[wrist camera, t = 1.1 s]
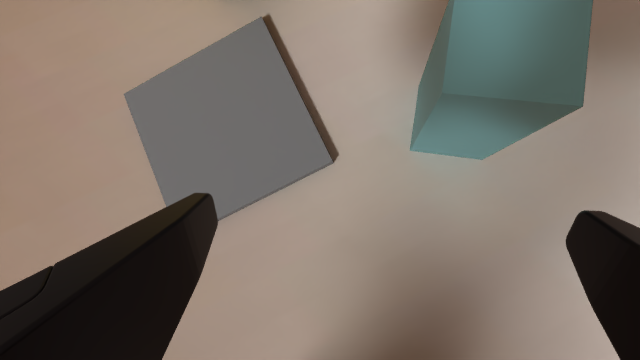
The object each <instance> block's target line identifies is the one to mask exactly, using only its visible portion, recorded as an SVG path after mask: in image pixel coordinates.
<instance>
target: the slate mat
mask: <svg viewBox="0 0 640 360" xmlns="http://www.w3.org/2000/svg"><path fill="white" fill-rule="evenodd" d="M124 96H125V99H126V101H127V104H128V107H129V109H130V112H131V115H132V117H133V120H134V122H135V125H136V128H137V130H138V133H139V136H140V138H141V141H142V144H143V146H144V149H145V151H146V154H147V157H148V159H149V162H150V165H151V167H152V170H153V172H154V175H155V178H156V180H157V183H158V186H159V188H160V191H161V193H162V196H163V199H164V201H165V204H166V207H167V206H169V205H171V204H173V203H175V202H177V201H179V200H181V199H183V198H185V197H187V196H189V195H191V194H193V193H209V194H211V195H212V197H213V200H214V204H215V209H216V213H217V218H218V221H219V220H221V219H223V218H225V217H227V216H229V215H231V214H233V213H235V212H237V211H239V210H241V209H243V208H245V207H247V206H249V205H251V204H253V203H255V202H257V201H259V200H261V199H263V198H265V197H267V196H269V195H271V194H273V193H275V192H277V191H279V190H281V189H283V188H285V187H287V186H289V185H291V184H293V183H295V182H297V181H299V180H301V179H303V178H305V177H307V176H309V175H311V174H313V173H315V172H317V171H319V170H321V169H323V168H325V167H327V166H329V165H331V164H333V161H332V159H331V157H330V154H329V152H328V150H327V148H326V146H325V144H324V142H323V140H322V138H321V136H320V134H319V132H318V130H317V128H316V126H315V124H314V122H313V120H312V118H311V116H310V114H309V112H308V110H307V108H306V106H305V104H304V102H303V100H302V98H301V96H300V94H299V92H298V90H297V87H296V85H295V83H294V81H293V79H292V77H291V75H290V73H289V71H288V69H287V67H286V65H285V63H284V61H283V59H282V57H281V55H280V53H279V51H278V49H277V47H276V45H275V43H274V41H273V39H272V37H271V35H270V33H269V31H268V29H267V27H266V25H265V22H264V21H263V19H262V17H260V18H258V19H256V20H254V21H253V22H251V23H249V24H247V25H245V26H244V27H242V28H240V29H238V30H237V31H235V32H233V33H231V34H229V35H228V36H226V37H224V38H222V39H221V40H219V41H217V42H215V43H213V44H212V45H210V46H208V47H206V48H205V49H203V50H201V51H199V52H197V53H196V54H194V55H192V56H190V57H189V58H187V59H185V60H183V61H181V62H180V63H178V64H176V65H174V66H173V67H171V68H169V69H167V70H165V71H164V72H162V73H160V74H158V75H157V76H155V77H153V78H151V79H149V80H148V81H146V82H144V83H142V84H141V85H139V86H137V87H135V88H133V89H132V90H130V91H128V92H126V93H125V94H124Z"/></svg>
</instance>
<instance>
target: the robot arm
mask: <svg viewBox="0 0 640 360" xmlns="http://www.w3.org/2000/svg"><path fill="white" fill-rule="evenodd" d="M217 225H218V218H217V213H216V209H215V204H214V200H213V197H212V195H211V194H209V193H193V194H191V195H189V196H187V197H185V198H183V199H181V200H179V201H177V202H175V203H173V204H171V205H169V206H167V207H165V208H164V209H162V210H160V211H158V212H156V213H154V214H152V215H150V216H148V217H146V218H144V219H142V220H140V221H138V222H136V223H134V224H132V225H130V226H128V227H126V228H124V229H122V230H120V231H118V232H116V233H114V234H112V235H110V236H109V237H107V238H105V239H103V240H101V241H99V242H97V243H95V244H93V245H91V246H89V247H87V248H85V249H83V250H81V251H79V252H77V253H75V254H73V255H71V256H69V257H67V258H65V259H63V260H61V261H59V262H57V263H56V264H55V265H54V266H49V267H47V268H45V269H43V270H42V271H40V272H38V273H36V274H34V275H32V276H30V277H28V278H26V279H24V280H22V281H20V282H18V283H16V284H14V285H12V286H9V287H7V288H5V289H3V290H1V291H0V360H162V358H163V356H164V354H165V352H166V349H167V347H168V345H169V343H170V341H171V339H172V337H173V334H174V332H175V330H176V328H177V326H178V324H179V322H180V319H181V317H182V315H183V313H184V311H185V309H186V307H187V304H188V302H189V300H190V298H191V296H192V294H193V292H194V289H195V287H196V285H197V283H198V280H199V278H200V276H201V273H202V270H203V268H204V265H205V262H206V259H207V256H208V253H209V250H210V247H211V244H212V241H213V238H214V235H215V232H216V229H217ZM566 247H567V250H568V252H569V254H570V257H571V259H572V262H573V264H574V266H575V269H576V271H577V274H578V276H579V278H580V281H581V283H582V286H583V288H584V290H585V293H586V295H587V297H588V300H589V302H590V304H591V306H592V308H593V310H594V312H595V314H596V316H597V318H598V319H599V321H600V323H601V325H602V327H603V329H604V330H605V332H606V334H607V336H608V338H609V340H610V341H611V343H612V345H613V347H614V349H615V351H616V352H617V354H618V356H619V358H620V360H640V228H639V227H636V226H634V225H632V224H630V223H628V222H625V221H623V220H621V219H619V218H616V217H614V216H612V215H610V214H608V213H605V212H602V211H582V212H580V213H579V214H578V215H577V217H576V219H575V221H574V223H573V225H572V227H571V229H570V231H569V233H568V235H567V237H566Z"/></svg>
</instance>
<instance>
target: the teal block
mask: <svg viewBox="0 0 640 360" xmlns="http://www.w3.org/2000/svg"><path fill="white" fill-rule="evenodd" d="M592 4H593V0H449V2H448V5H447V8H446V10H445V13H444V16H443V19H442V22H441V25H440V27H439V30H438V33H437V36H436V39H435V42H434V44H433V47H432V50H431V53H430V56H429V59H428V61H427V64H426V67H425V70H424V73H423V76H422V78H421V81H420V84H419V89H418V96H417V103H416V111H415V118H414V125H413V132H412V139H411V146H410V151H417V152H425V153H433V154H441V155H449V156H457V157H465V158H473V159H481V160H483V159H485V158H486V157H488V156H490V155H492V154H494V153H496V152H498V151H500V150H501V149H503V148H505V147H507V146H509V145H511V144H513V143H515V142H517V141H518V140H520V139H522V138H524V137H526V136H528V135H530V134H532V133H534V132H535V131H537V130H539V129H541V128H543V127H545V126H547V125H549V124H551V123H552V122H554V121H556V120H558V119H560V118H562V117H564V116H566V115H568V114H569V113H571V112H573V111H575V110H577V109H579V108H581V107H583V101H584V90H585V79H586V69H587V58H588V47H589V36H590V26H591V15H592Z"/></svg>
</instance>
